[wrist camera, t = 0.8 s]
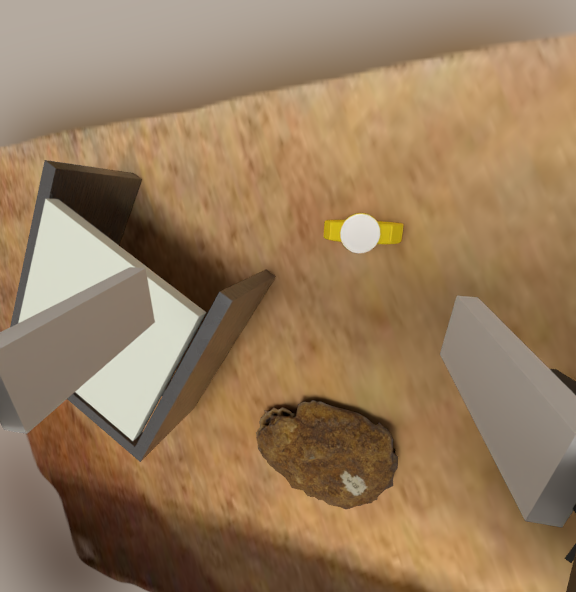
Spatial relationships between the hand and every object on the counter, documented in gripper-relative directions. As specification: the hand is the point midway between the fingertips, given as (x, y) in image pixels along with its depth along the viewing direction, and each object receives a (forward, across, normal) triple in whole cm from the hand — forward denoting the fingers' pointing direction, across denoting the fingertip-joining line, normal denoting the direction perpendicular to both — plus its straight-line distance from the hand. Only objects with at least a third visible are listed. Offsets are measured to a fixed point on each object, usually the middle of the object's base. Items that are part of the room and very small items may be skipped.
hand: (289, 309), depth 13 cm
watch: (+16, -4, 0) cm, 16 cm away
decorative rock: (+13, -3, +23) cm, 26 cm away
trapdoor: (+9, +18, +8) cm, 22 cm away
